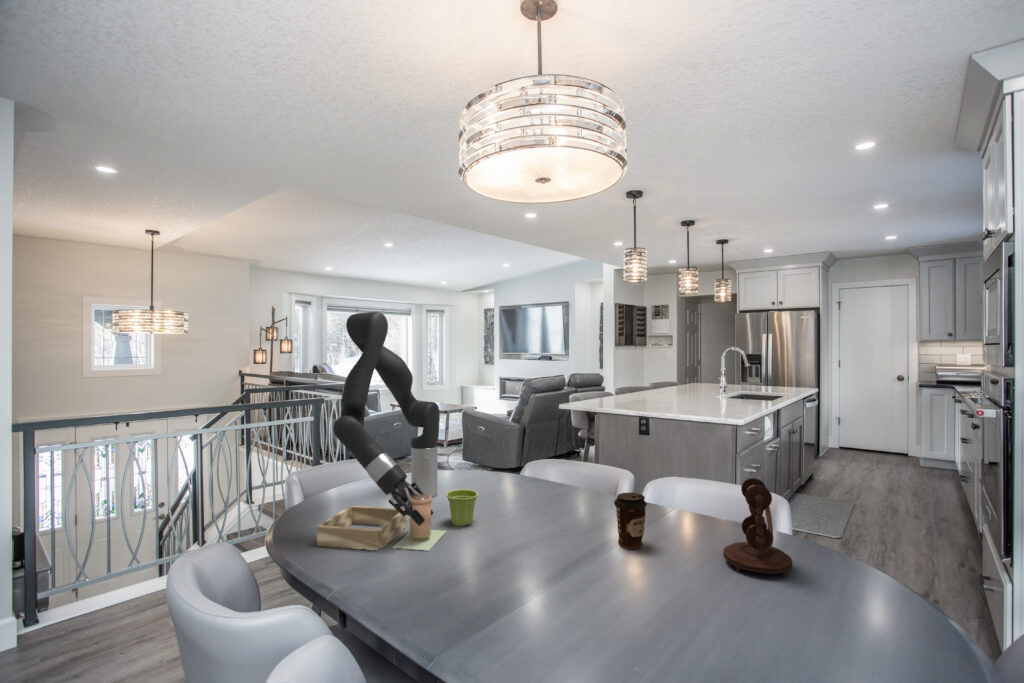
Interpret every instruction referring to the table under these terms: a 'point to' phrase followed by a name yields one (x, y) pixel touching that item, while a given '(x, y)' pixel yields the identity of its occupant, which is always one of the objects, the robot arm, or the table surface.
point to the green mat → (420, 541)
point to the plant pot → (462, 506)
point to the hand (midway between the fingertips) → (426, 519)
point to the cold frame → (342, 536)
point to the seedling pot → (424, 508)
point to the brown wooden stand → (757, 535)
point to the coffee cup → (630, 519)
